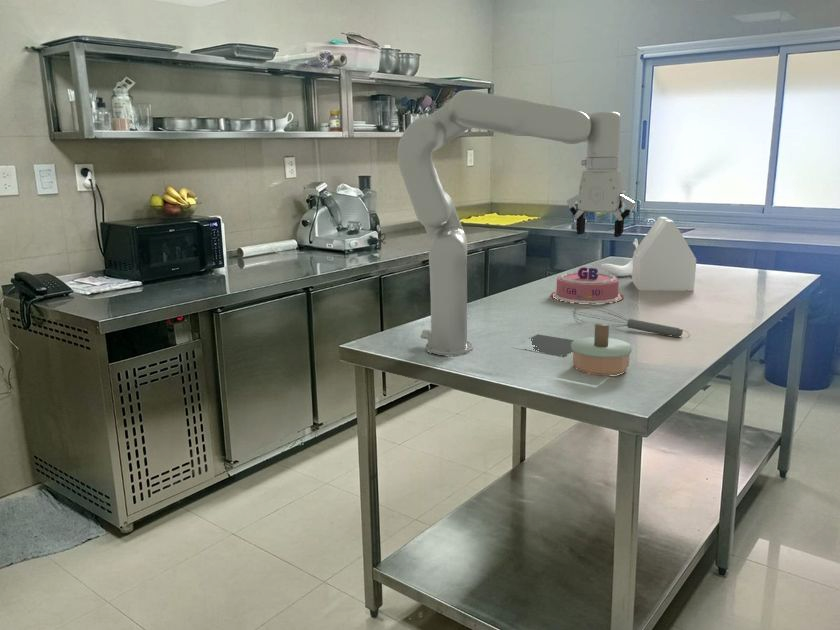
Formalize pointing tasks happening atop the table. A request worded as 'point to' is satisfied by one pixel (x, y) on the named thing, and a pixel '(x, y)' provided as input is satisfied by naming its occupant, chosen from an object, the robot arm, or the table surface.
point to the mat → (552, 345)
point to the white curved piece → (620, 270)
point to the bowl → (600, 364)
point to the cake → (587, 287)
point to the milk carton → (664, 259)
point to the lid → (601, 344)
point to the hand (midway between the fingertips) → (599, 235)
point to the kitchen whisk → (640, 324)
